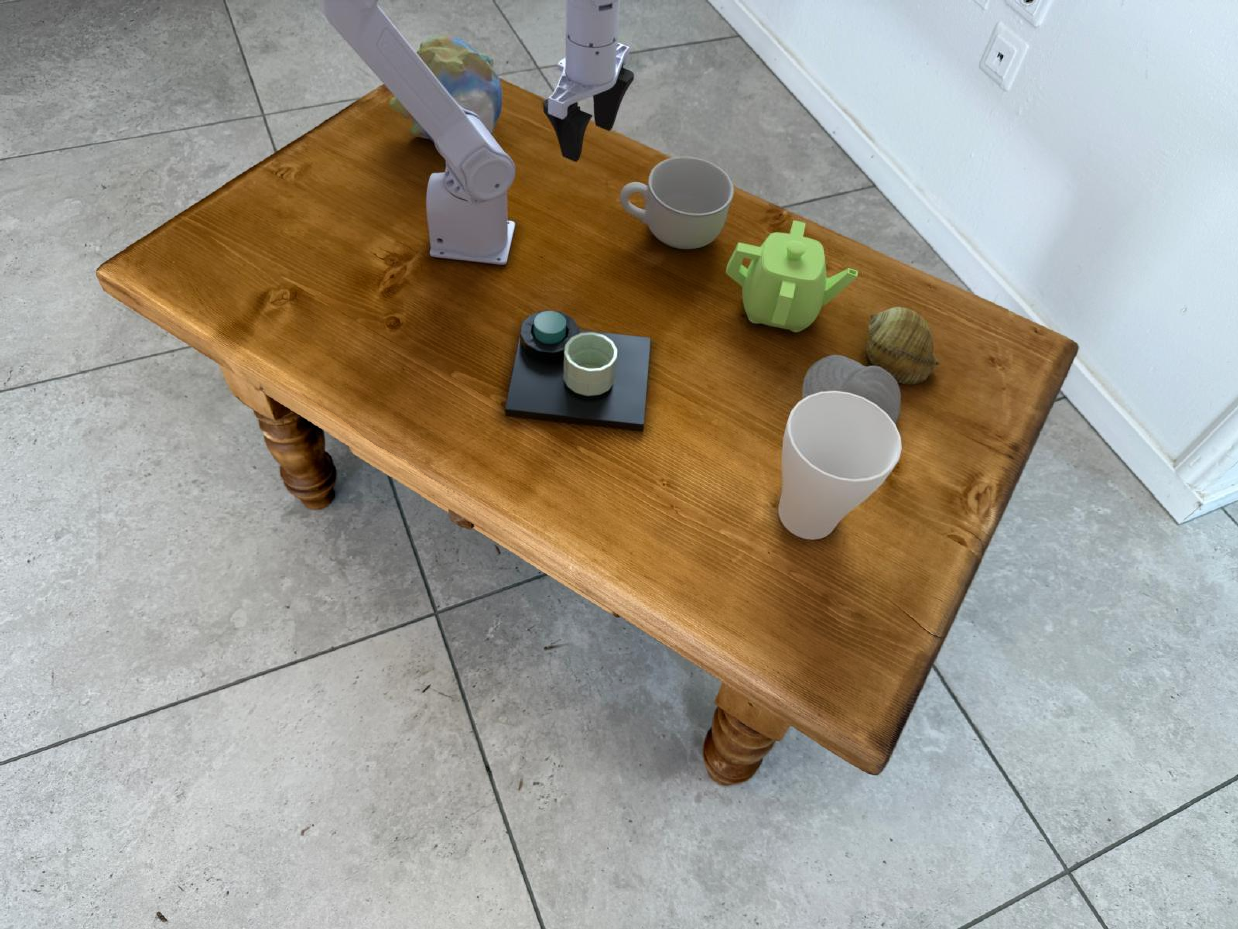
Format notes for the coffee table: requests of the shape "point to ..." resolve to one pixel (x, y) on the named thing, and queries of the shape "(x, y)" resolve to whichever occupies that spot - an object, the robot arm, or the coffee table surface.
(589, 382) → the pale green handleless cup
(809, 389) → the seashell
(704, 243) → the teacup
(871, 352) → the seashell
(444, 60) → the decorative rock
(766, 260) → the teapot
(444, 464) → the coffee table surface
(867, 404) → the cup
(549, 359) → the scale
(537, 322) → the button
